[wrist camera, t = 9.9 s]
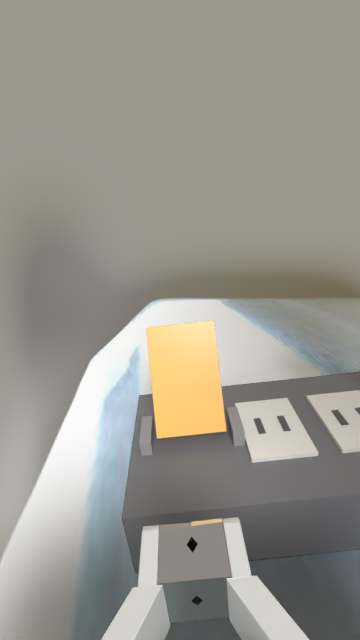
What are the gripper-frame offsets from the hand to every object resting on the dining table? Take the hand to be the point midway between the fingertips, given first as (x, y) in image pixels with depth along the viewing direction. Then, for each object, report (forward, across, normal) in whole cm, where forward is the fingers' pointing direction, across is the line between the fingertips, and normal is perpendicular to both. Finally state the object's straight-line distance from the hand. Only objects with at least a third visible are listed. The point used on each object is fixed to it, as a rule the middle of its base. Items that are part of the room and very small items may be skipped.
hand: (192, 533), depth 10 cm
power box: (+12, -9, +12) cm, 20 cm away
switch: (+12, 0, +7) cm, 14 cm away
